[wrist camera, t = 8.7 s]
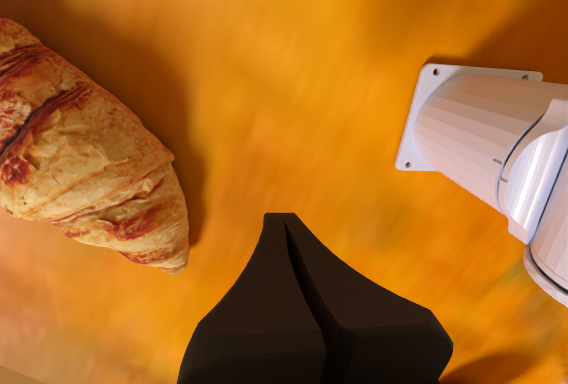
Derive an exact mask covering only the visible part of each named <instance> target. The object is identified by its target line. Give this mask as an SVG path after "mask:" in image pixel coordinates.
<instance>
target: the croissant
mask: <svg viewBox="0 0 568 384" xmlns="http://www.w3.org/2000/svg"><path fill="white" fill-rule="evenodd" d="M174 159H175V157H174V154H173V153H172V152H171V151H170V150H169V149H167V148H166V147H165V146H164V145H163V144H162V143H161V142H160V141H159V140H158V139H157V138H156V137H155V136H154V135H153V134H151V133H150V132H149V131H148V130H147V129H146V128H145V127H144V126H143V124H142V122H141V120H140V119H139V118H138V117H137V116H136V115H135V114H134V113H133V112H132V111H131V110H130V109H129V108H128V107H127V106H126V105H124V104H123V103H122V102H121V101H120V100H119V99H117V98H116V97H115V96H114V95H112V94H111V93H110V92H108V91H107V90H106V89H104V88H102V87H100V86H99V85H97V84H96V83H95V82H93V81H92V80H91V79H90V78H89V77H88V76H87V75H86V74H85V73H84V72H82V71H81V70H79V69H78V68H76V67H75V66H73V65H72V64H71V63H69V62H68V61H67V60H65V59H64V58H63V57H61V56H60V55H59V54H57V53H56V52H54V51H53V50H51V49H49V48H47V47H45V46H43V44H42V43H41V41H40V40H39V39H38V38H37V37H36V36H35V35H33V34H32V33H31V32H30V31H29V30H27V29H26V28H25V27H24V26H23V25H21V24H19V23H17V22H15V21H13V20H11V19H9V18H7V17H5V16H3V15H1V14H0V206H2V207H3V208H4V209H5V210H6V212H7V213H8V214H9V215H11V216H14V217H16V218H18V219H21V218H24V219H26V220H29V221H31V222H46V221H48V222H50V223H53V225H54V227H56V228H57V229H58V230H60V231H61V232H62V233H63V234H64V235H65V236H67V237H68V238H73V239H75V240H77V241H79V242H81V243H85V244H90V245H94V246H103V247H110V248H111V249H114V250H117V251H118V252H120V253H121V254H123V255H124V256H125V257H127V258H128V259H129V260H130V261H132V262H134V263H138V264H143V265H146V266H154V267H157V268H159V269H160V270H162V271H164V272H166V273H169V274H172V275H176V274H179V273H180V272H181V271H183V270H184V268H185V267H186V265H187V263H188V258H189V253H190V251H189V249H190V248H189V242H188V232H189V221H188V218H187V216H188V209H187V206H186V203H185V197H184V193H183V191H182V189H181V186H180V184H179V181H178V178H177V176H176V174H175V171H174V169H173V167H172V165H171V162H173V161H174Z"/></svg>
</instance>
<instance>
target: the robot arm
mask: <svg viewBox="0 0 568 384" xmlns="http://www.w3.org/2000/svg"><path fill="white" fill-rule="evenodd" d="M436 68H437V73H436V74H435V75H434V74H433V71H434V69H436ZM523 76H524V78H523V79H522V77H523ZM542 79H543V74H542V73H541V72H535V71H522V70H509V69H497V68H484V67H471V66H459V65H446V64H433V63H428V64H425V65H424V66H423V67H422V69H421V72H420V75H419V79H418V82H417V86H416V90H415V93H414V97H413V100H412V104H411V107H410V111H409V115H408V118H407V122H406V125H405V129H404V133H403V136H402V140H401V143H400V147H399V150H398V154H397V158H396V161H395V167H396V168H397V169H398V170H413V171H439V172H441V173H442V174H444V175H445V176H447V177H448V178H450V179H451V180H453V181H454V182H456V183H457V184H459V185H460V186H462V187H463V188H465V189H466V190H468V191H469V192H471V193H472V194H474V195H475V196H477V197H478V198H480V199H481V200H483V201H484V202H486V203H487V204H489V205H490V206H492V207H493V208H495V209H496V210H498V211H499V212H501V213H502V214H504V215H505V216H507V218H508V220H509V228H508V232H510V233H511V234H512V235H514V236H515V237H517V238H518V239H519V240H521V241H522V242H524V243H525V244H526V247H525V250H524V253H523V261H524V265H525V267H526V269H527V271H528V273H529V274H530V276H531V277H532V278H533V279H534V281H535V282H536V283H537V284H538V285H539V286H540V287H541V288H542V289H543V290H544V291H546V292H547V293H548V294H550V295H551V296H552V297H553V298H555V299H556V300H557V301H559V302H560V303H562V304H563V305H565V306H567V307H568V85H566V84H558V83H550V82H542ZM407 162H409V164H408V165H407V166H405V165H406V163H407ZM452 353H453V342H452V340H451V339H450V337H449V335H448V334H447V332H446V331H445V330H444V328H443V327H442V325H441V324H440V322H439V321H438V320H437V318H436V317H435V316H434V314H433V313H432V312H431V310H429V309H427V308H425V307H423V306H420V305H418V304H416V303H414V302H412V301H409V300H407V299H405V298H403V297H400V296H398V295H396V294H395V293H393V292H391V291H389V290H387V289H385V288H383V287H381V286H380V285H378V284H376V283H374V282H373V281H371V280H369V279H368V278H366V277H365V276H363V275H362V274H360V273H358V272H357V271H356V270H354V269H353V268H351V267H350V266H349V265H347V264H346V263H345V262H343V261H342V260H341V259H339V258H338V257H337V256H336V255H335V254H333V253H332V252H331V251H330V250H329V249H328V248H327V247H326V246H324V245H323V244H322V243H321V242H320V241H319V240H318V239H317V238H316V237H315V235H314V234H313V233H312V232H311V231H310V230H309V229H308V228H307V227H306V226H305V224H304V223H303V222H302V221H301V220H300V219H299V217H298V216H297V215H296V214H295V213H266V214H265V215H264V221H263V229H262V232H261V235H260V238H259V241H258V244H257V246H256V248H255V250H254V252H253V254H252V256H251V258H250V260H249V262H248V264H247V265H246V267H245V269H244V270H243V272H242V273H241V275H240V276H239V278H238V279H237V281H236V282H235V283H234V285H233V286H232V287H231V289H230V290H229V291H228V292H227V293H226V295H225V296H224V297H223V298H222V299H221V300H220V302H219V303H218V304H217V305H216V306H215V307H214V308H213V309H212V310H211V311H210V312H209V313H208V314H207V315H206V316H205V317H204V318H203V319H202V320H201V321H200V322H199V323H198V325H197V327H196V329H195V331H194V333H193V335H192V337H191V340H190V342H189V344H188V346H187V349H186V351H185V354H184V357H183V360H182V363H181V366H180V371H179V376H178V381H177V384H440V382H439V380H438V379H439V377H440V375H441V374H442V372H443V370H444V369H445V367H446V366H447V364H448V362H449V360H450V358H451V356H452Z"/></svg>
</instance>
